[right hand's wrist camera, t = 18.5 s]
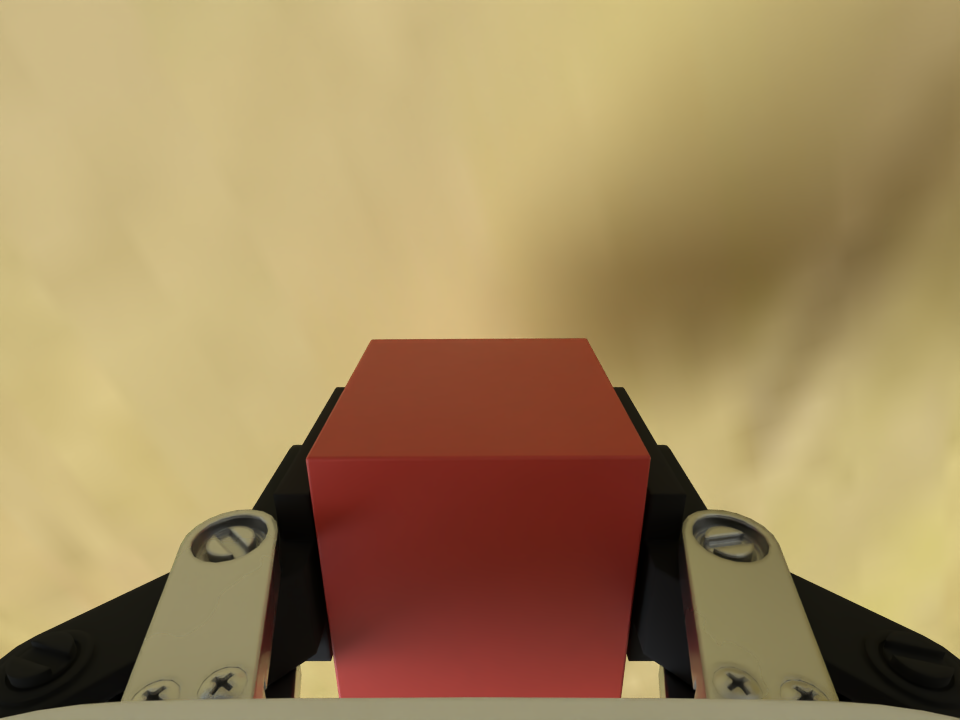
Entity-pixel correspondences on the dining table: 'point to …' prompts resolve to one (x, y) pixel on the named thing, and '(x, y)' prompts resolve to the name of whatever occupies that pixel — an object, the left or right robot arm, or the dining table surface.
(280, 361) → the dining table surface
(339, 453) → the block
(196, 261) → the dining table surface
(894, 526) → the dining table surface
